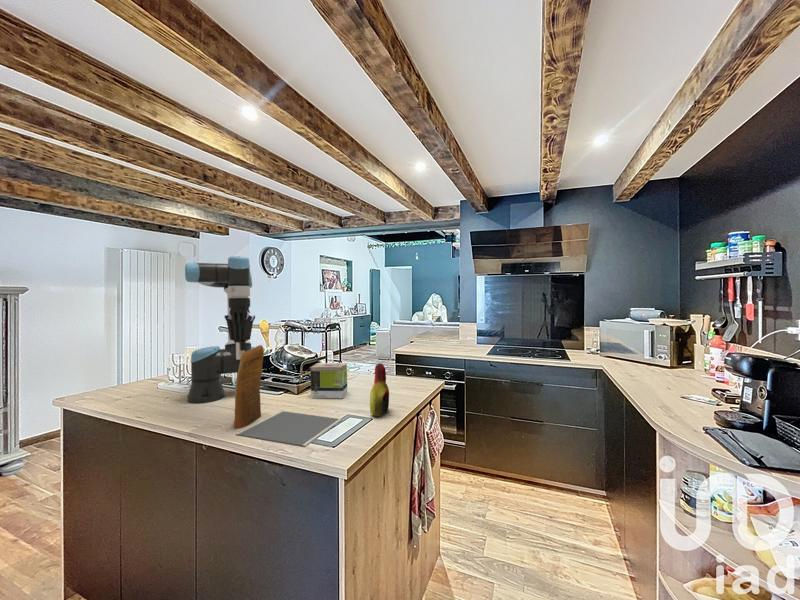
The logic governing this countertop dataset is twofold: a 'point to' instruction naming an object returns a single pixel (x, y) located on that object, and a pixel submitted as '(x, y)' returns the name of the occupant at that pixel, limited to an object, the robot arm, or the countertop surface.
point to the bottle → (379, 392)
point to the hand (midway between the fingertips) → (240, 358)
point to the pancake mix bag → (248, 387)
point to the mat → (290, 428)
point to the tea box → (329, 380)
